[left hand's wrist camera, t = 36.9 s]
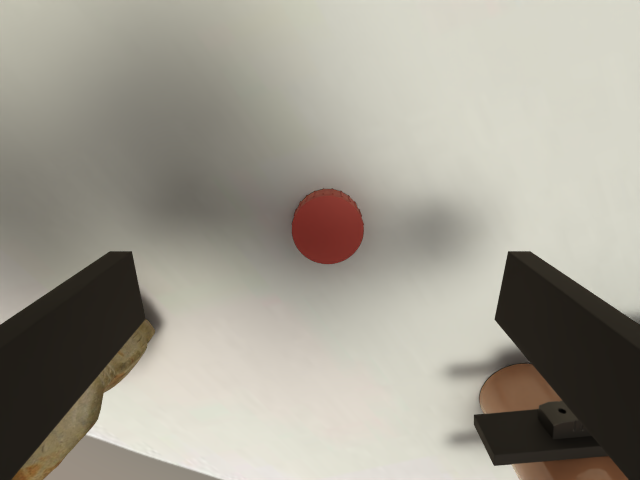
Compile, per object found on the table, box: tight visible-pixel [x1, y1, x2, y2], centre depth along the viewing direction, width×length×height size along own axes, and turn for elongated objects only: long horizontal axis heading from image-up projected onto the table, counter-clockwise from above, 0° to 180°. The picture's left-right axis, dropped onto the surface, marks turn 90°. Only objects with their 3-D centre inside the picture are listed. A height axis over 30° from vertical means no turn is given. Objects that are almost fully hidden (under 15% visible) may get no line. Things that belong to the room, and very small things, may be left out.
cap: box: [292, 189, 364, 264], centre depth 21 cm, size 4×4×2 cm
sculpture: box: [12, 319, 155, 480], centre depth 18 cm, size 6×7×15 cm
